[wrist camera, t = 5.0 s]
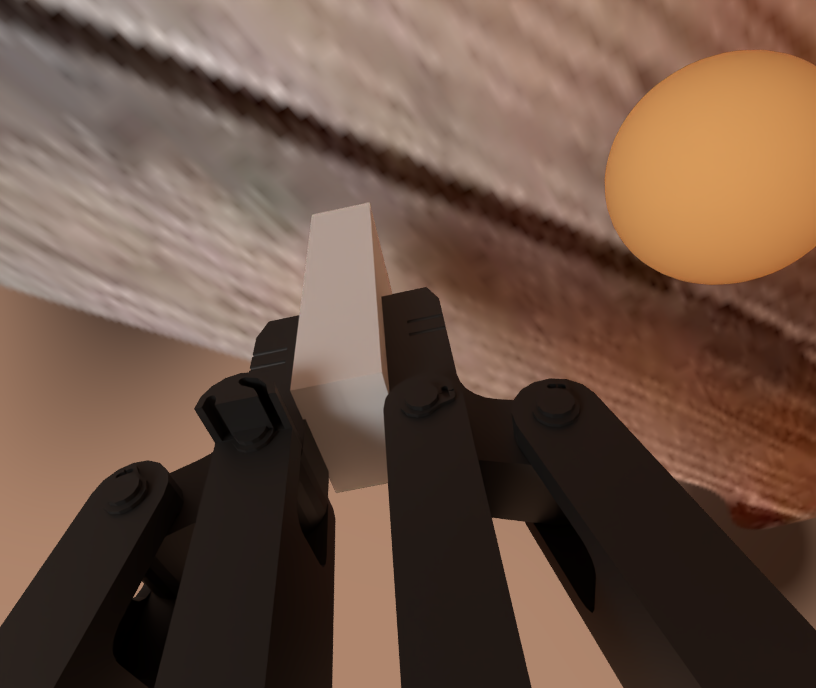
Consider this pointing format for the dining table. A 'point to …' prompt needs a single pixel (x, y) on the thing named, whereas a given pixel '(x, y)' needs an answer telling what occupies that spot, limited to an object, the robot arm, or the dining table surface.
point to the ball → (719, 169)
